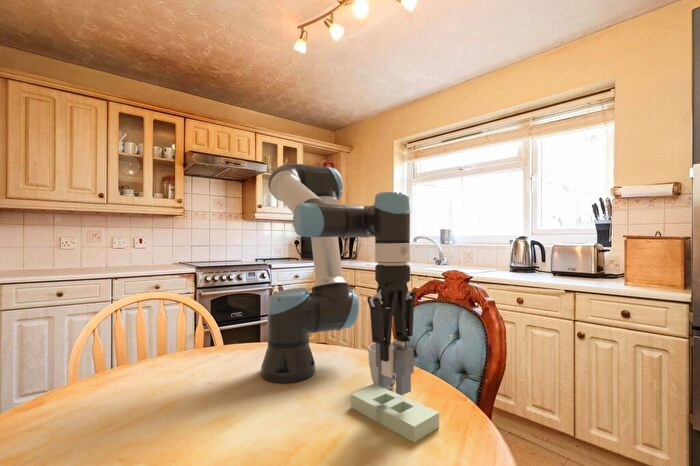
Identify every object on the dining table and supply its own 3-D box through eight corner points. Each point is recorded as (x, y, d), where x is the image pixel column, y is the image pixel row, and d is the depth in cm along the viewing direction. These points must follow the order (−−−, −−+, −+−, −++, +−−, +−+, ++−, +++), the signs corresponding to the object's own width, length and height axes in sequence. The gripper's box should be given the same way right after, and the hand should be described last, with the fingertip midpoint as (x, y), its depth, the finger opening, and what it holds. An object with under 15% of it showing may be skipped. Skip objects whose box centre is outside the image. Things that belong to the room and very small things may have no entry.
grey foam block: (375, 384, 76) (375, 343, 76) (385, 381, 78) (385, 340, 78) (404, 396, 70) (404, 351, 70) (413, 392, 72) (413, 348, 72)
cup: (398, 394, 85) (398, 353, 85) (365, 391, 87) (365, 351, 87) (400, 380, 93) (400, 343, 93) (370, 378, 95) (370, 341, 95)
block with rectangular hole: (351, 407, 79) (351, 394, 79) (375, 396, 84) (375, 384, 84) (414, 442, 65) (414, 426, 65) (439, 427, 70) (439, 412, 70)
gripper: (379, 266, 67) (380, 389, 66) (429, 262, 77) (430, 368, 77) (353, 264, 72) (353, 378, 72) (403, 261, 83) (404, 360, 83)
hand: (393, 373), depth 74 cm, fingers closed on grey foam block, 3 cm apart
